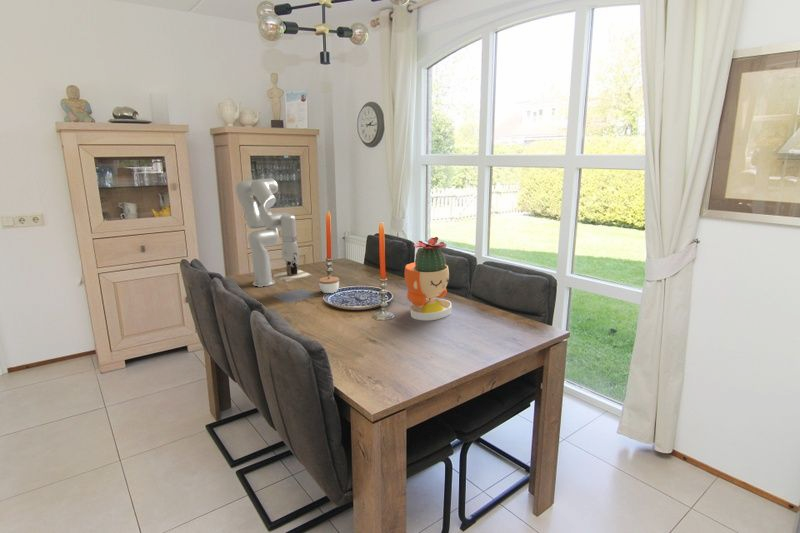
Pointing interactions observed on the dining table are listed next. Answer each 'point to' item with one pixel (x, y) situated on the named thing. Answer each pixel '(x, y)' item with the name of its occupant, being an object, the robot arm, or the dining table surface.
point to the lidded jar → (329, 284)
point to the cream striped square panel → (295, 295)
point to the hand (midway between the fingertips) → (292, 272)
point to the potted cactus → (428, 282)
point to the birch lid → (291, 275)
